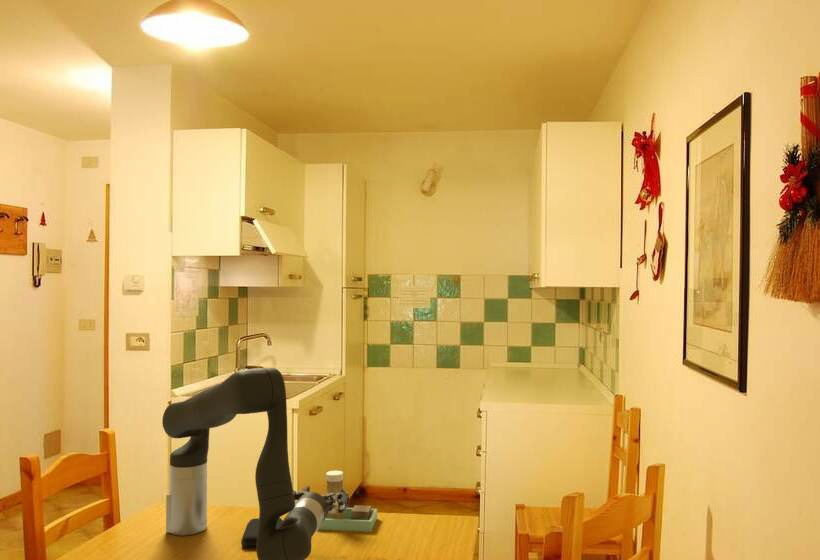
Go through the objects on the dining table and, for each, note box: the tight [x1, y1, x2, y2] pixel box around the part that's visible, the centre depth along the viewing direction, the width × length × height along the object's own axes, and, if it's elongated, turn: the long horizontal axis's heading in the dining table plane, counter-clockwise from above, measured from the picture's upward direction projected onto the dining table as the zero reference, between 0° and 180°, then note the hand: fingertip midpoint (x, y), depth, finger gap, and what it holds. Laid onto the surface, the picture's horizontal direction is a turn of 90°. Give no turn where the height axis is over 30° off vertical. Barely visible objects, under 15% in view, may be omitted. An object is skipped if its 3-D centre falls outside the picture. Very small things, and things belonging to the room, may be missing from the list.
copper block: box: [351, 504, 372, 520], centre depth 167 cm, size 4×4×4 cm
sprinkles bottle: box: [325, 470, 344, 519], centre depth 167 cm, size 5×5×14 cm
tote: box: [317, 507, 378, 533], centre depth 167 cm, size 15×9×3 cm, turn 84°
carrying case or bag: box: [240, 517, 284, 549], centre depth 159 cm, size 11×3×15 cm
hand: (324, 490), depth 156 cm, fingers open, 8 cm apart
